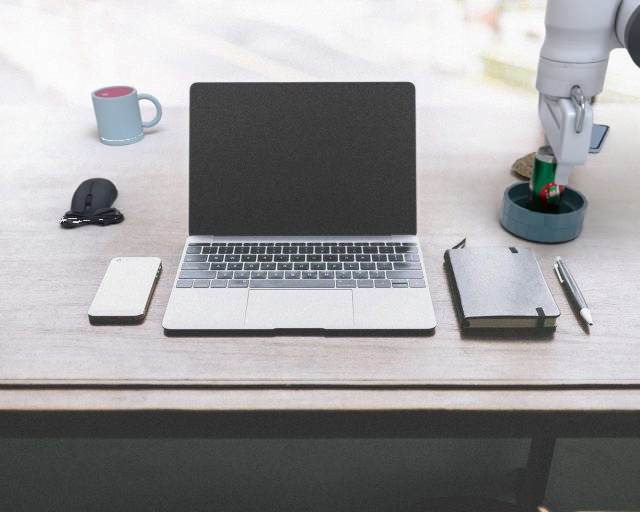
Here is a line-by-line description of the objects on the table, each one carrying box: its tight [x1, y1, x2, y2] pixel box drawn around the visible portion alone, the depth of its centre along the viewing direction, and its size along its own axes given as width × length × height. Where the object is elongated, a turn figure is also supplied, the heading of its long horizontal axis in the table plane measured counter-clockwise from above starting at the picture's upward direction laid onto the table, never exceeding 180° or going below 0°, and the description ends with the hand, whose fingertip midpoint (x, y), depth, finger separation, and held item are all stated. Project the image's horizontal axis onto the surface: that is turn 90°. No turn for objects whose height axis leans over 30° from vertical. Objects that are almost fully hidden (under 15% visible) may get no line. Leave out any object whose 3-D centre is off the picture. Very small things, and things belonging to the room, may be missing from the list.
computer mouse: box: [59, 177, 125, 228], centre depth 104 cm, size 10×15×4 cm
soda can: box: [525, 145, 565, 214], centre depth 94 cm, size 5×5×12 cm
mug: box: [90, 85, 163, 147], centre depth 132 cm, size 14×9×10 cm
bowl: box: [499, 180, 589, 244], centre depth 96 cm, size 12×12×5 cm
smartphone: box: [589, 122, 611, 154], centre depth 129 cm, size 7×1×15 cm
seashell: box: [511, 150, 538, 179], centre depth 113 cm, size 8×6×8 cm
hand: (554, 169), depth 92 cm, fingers open, 8 cm apart
